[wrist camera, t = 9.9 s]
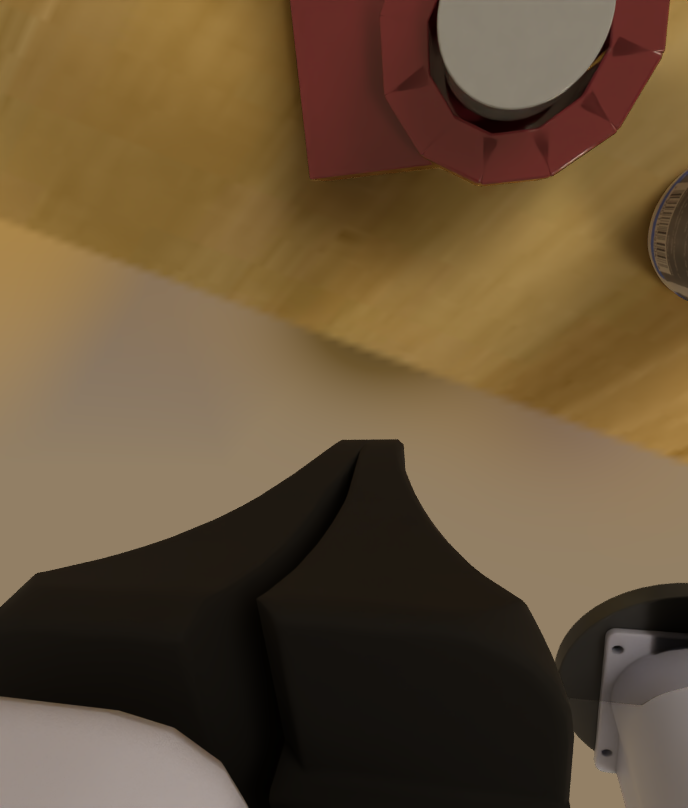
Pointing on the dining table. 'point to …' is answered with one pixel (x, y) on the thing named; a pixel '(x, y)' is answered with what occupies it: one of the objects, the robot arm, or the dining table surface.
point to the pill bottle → (671, 237)
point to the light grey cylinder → (518, 51)
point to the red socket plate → (449, 95)
